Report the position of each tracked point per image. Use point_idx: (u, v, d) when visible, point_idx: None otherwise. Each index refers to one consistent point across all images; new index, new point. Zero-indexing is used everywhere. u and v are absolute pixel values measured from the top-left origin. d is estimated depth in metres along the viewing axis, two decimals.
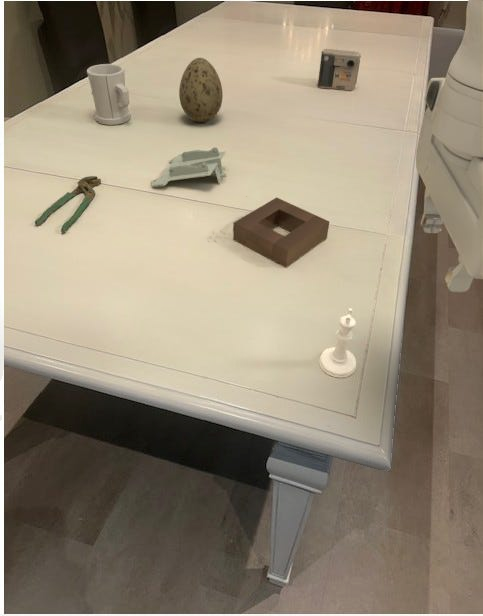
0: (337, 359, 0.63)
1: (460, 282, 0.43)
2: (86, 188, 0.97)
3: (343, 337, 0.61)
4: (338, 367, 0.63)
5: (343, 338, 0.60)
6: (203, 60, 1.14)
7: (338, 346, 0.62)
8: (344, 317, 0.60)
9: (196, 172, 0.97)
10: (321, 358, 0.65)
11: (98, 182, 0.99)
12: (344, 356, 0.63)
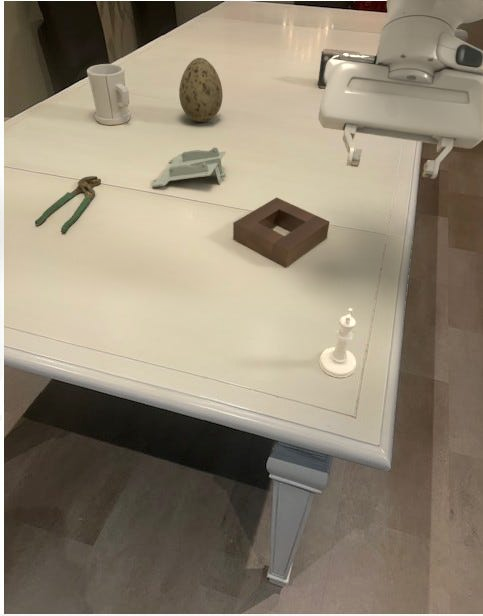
0: (337, 359, 0.63)
1: (348, 155, 0.61)
2: (86, 188, 0.97)
3: (343, 337, 0.61)
4: (338, 367, 0.63)
5: (343, 338, 0.60)
6: (203, 60, 1.14)
7: (338, 346, 0.62)
8: (344, 318, 0.60)
9: (196, 172, 0.97)
10: (321, 358, 0.65)
11: (98, 182, 0.99)
12: (344, 356, 0.63)
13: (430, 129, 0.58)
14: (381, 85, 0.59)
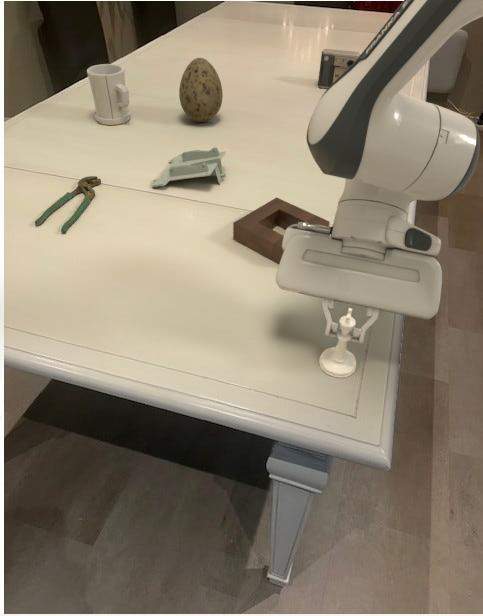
0: (337, 359, 0.63)
1: None
2: (86, 188, 0.97)
3: (343, 337, 0.61)
4: (338, 367, 0.63)
5: (343, 338, 0.60)
6: (203, 60, 1.14)
7: (338, 346, 0.62)
8: (344, 317, 0.60)
9: (196, 172, 0.97)
10: (321, 358, 0.65)
11: (98, 182, 0.99)
12: (344, 356, 0.63)
13: (380, 305, 0.59)
14: (334, 259, 0.60)
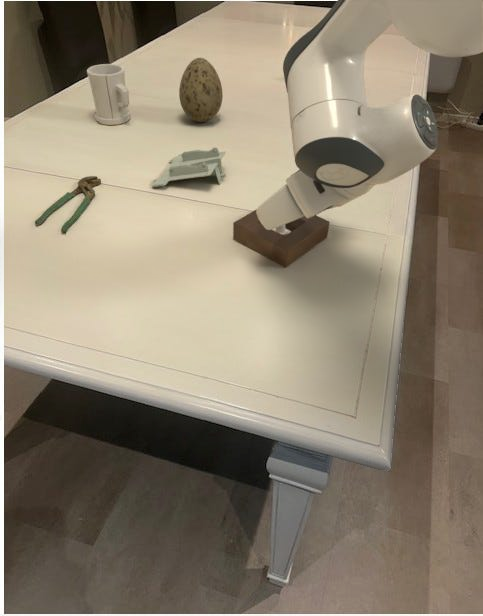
0: None
1: None
2: (86, 188, 0.97)
3: None
4: None
5: None
6: (203, 60, 1.14)
7: None
8: None
9: (196, 172, 0.97)
10: None
11: (98, 182, 0.99)
12: (276, 228, 0.85)
13: None
14: None
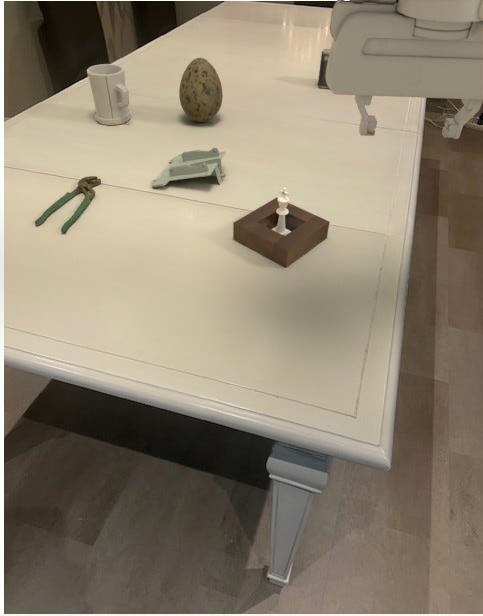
0: None
1: (361, 123, 0.54)
2: (86, 188, 0.97)
3: (279, 208, 0.83)
4: None
5: (278, 208, 0.83)
6: (203, 60, 1.14)
7: None
8: (286, 197, 0.81)
9: (196, 172, 0.97)
10: None
11: (98, 182, 0.99)
12: (276, 228, 0.85)
13: (457, 95, 0.50)
14: (403, 45, 0.47)
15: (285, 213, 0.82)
